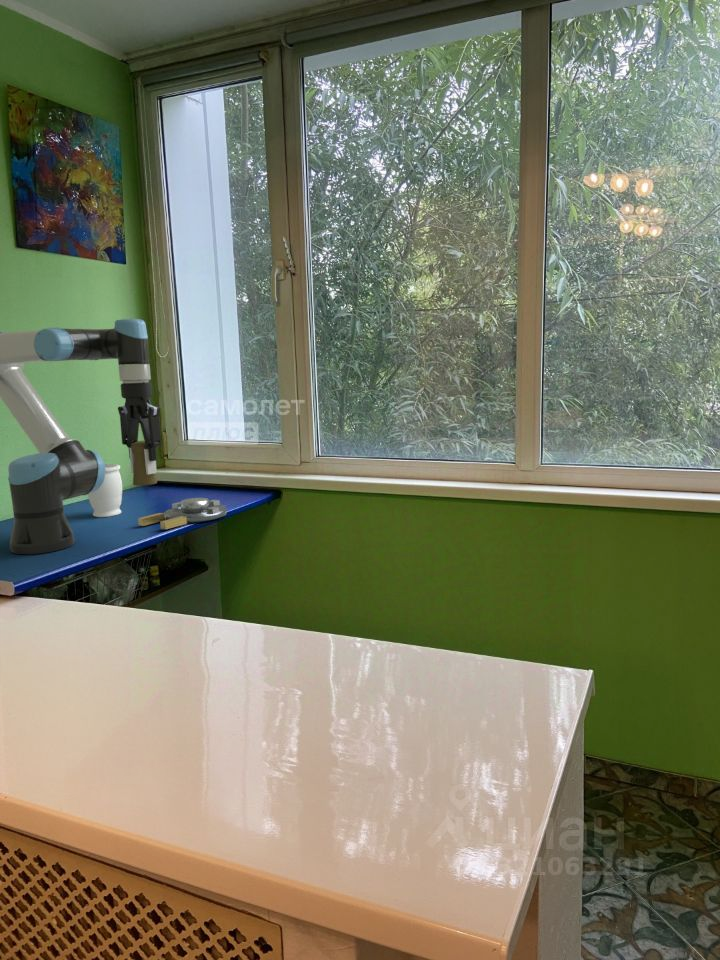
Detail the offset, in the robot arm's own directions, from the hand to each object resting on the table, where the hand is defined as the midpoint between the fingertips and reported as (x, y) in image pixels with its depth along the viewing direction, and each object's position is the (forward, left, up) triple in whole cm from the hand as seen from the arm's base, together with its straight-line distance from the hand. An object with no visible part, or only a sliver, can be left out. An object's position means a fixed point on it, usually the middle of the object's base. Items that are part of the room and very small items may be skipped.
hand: (144, 472), depth 182 cm
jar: (0, +40, -18) cm, 44 cm away
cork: (0, 0, -3) cm, 3 cm away
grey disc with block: (+16, +15, -17) cm, 28 cm away
